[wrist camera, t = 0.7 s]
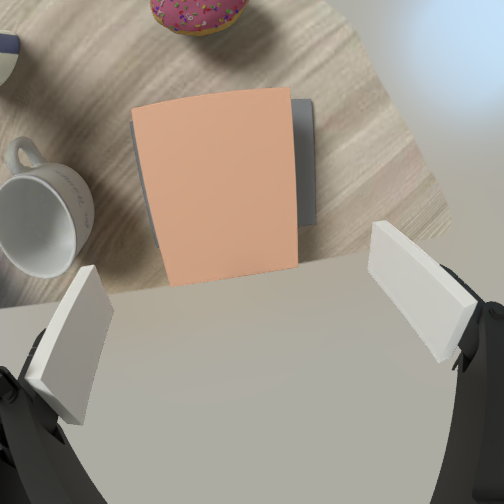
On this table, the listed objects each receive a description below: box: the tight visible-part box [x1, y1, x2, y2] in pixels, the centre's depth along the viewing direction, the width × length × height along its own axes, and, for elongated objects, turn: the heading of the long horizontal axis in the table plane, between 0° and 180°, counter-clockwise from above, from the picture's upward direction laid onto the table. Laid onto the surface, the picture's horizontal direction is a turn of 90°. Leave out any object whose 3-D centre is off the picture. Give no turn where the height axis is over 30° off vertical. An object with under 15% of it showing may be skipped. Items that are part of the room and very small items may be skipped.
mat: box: [130, 99, 315, 248], centre depth 29 cm, size 18×14×1 cm
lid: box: [131, 87, 298, 287], centre depth 24 cm, size 12×16×2 cm
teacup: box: [0, 136, 95, 279], centre depth 23 cm, size 14×11×8 cm
